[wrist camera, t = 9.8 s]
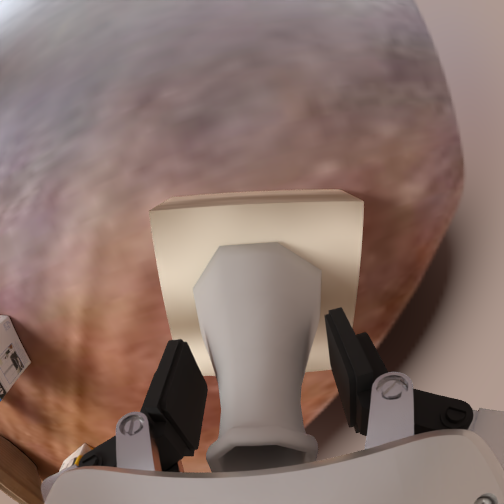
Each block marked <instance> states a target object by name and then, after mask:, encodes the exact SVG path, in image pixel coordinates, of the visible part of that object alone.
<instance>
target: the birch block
mask: <svg viewBox="0 0 504 504" xmlns="http://www.w3.org/2000/svg"><path fill="white" fill-rule="evenodd" d="M363 216H364V201H362V200H360V199H358V198H357V197H355V196H353V195H351V194H349V193H347V192H345V191H343V190H341V189H312V190H274V191H251V192H232V193H216V194H202V195H190V196H178V197H171V198H169V199H168V200H166V201H164V202H163V203H161V204H160V205H158V206H156V207H155V208H153V209H152V210H150V211H149V217H150V224H151V231H152V238H153V244H154V250H155V256H156V262H157V268H158V273H159V279H160V284H161V289H162V294H163V299H164V304H165V309H166V313H167V318H168V322H169V327H170V331H171V335H172V339H173V340H177V339H182V340H183V341H184V342H187V343H188V345H189V347H190V349H191V352H192V354H193V356H194V358H195V360H196V363H197V365H198V367H199V369H200V371H201V373H202V375H203V376H216V375H215V372H214V369H213V366H212V363H211V360H210V357H209V355H208V352H207V349H206V347H205V344H204V341H203V338H202V335H201V331H200V326H199V321H198V316H197V310H196V305H195V299H194V294H193V287H194V286H195V284H196V282H197V281H198V279H199V278H200V276H201V274H202V273H203V271H204V269H205V268H206V266H207V265H208V263H209V261H210V260H211V258H212V257H213V255H214V253H215V252H216V250H217V249H218V247H219V246H225V245H239V244H254V243H268V242H278V243H279V244H281V245H282V246H284V247H286V248H287V249H289V250H290V251H292V252H293V253H295V254H297V255H298V256H300V257H301V258H303V259H304V260H306V261H308V262H309V263H311V264H312V265H314V266H315V267H317V268H319V269H320V270H322V274H321V307H320V319H319V324H318V327H317V331H316V334H315V337H314V341H313V344H312V347H311V351H310V355H309V359H308V363H307V367H306V370H305V372H312V371H322V370H331V365H330V358H329V349H328V341H327V333H326V325H325V317H324V315H326V314H329V310H332V309H336V308H340V307H342V309H343V311H344V313H345V315H346V317H347V319H348V321H349V323H350V325H351V326H352V327H353V320H354V313H355V306H356V298H357V290H358V281H359V271H360V260H361V248H362V234H363Z"/></svg>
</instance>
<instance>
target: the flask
mask: <svg viewBox="0 0 504 504" xmlns="http://www.w3.org/2000/svg"><path fill="white" fill-rule="evenodd" d="M321 274H322V270H320V269H319V268H317V267H315V266H314V265H312V264H311V263H309V262H308V261H306V260H304V259H303V258H301V257H300V256H298V255H297V254H295V253H293V252H292V251H290V250H289V249H287V248H286V247H284V246H282V245H281V244H279V243H278V242H268V243H254V244H239V245H225V246H219V247H218V249H217V250H216V252H215V253H214V255H213V257H212V258H211V260H210V261H209V263H208V265H207V266H206V268H205V269H204V271H203V273H202V274H201V276H200V278H199V279H198V281H197V282H196V284H195V286H194V287H193V294H194V299H195V305H196V310H197V316H198V321H199V326H200V331H201V335H202V338H203V341H204V344H205V347H206V349H207V352H208V355H209V357H210V360H211V363H212V366H213V369H214V372H215V375H216V378H217V381H218V385H219V394H220V403H221V419H220V431H219V437H218V440H217V441H215V442H214V443H213V444H212V445H211V446H209V448H208V451H207V454H206V460H207V462H208V464H209V467H210V469H211V471H212V473H216V472H238V471H251V470H262V469H270V468H278V467H286V466H292V465H298V464H304V463H310V462H315V461H316V458H317V453H318V444H317V441H316V440H315V438H314V437H313V436H311V435H308V434H306V432H305V429H304V426H303V418H302V411H301V404H300V400H301V385H302V382H303V378H304V374H305V370H306V367H307V363H308V359H309V355H310V351H311V347H312V344H313V341H314V337H315V334H316V331H317V327H318V324H319V319H320V307H321Z"/></svg>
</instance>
